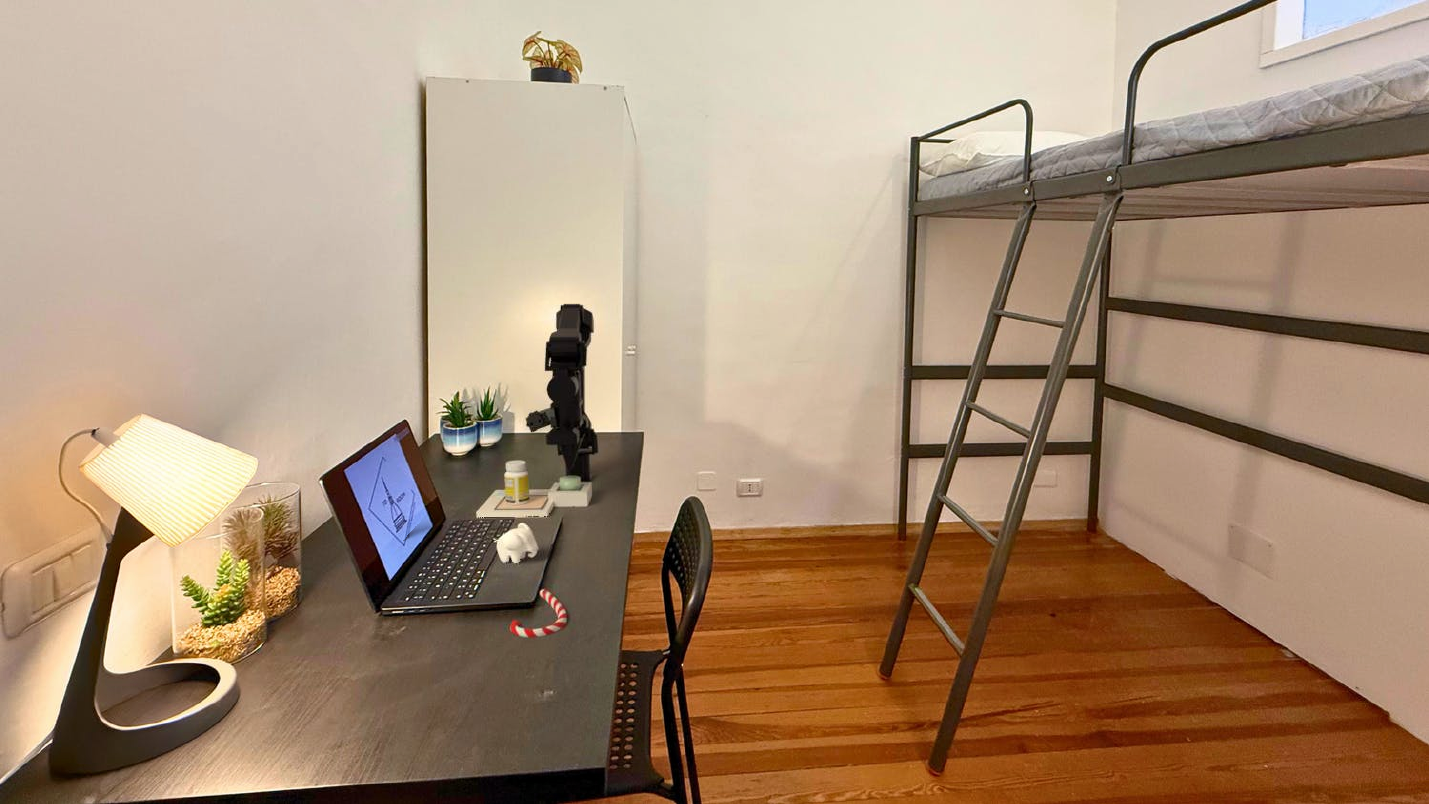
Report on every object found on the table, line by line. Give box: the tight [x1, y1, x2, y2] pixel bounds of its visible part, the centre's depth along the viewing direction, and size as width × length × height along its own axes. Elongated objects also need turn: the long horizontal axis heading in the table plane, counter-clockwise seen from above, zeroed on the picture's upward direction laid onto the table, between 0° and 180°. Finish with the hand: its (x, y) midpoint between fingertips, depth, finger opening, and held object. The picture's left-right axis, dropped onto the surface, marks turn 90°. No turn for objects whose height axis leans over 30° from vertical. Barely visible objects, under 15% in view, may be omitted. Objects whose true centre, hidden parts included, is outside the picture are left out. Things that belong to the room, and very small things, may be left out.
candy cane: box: [509, 588, 568, 638], centre depth 118 cm, size 8×1×15 cm
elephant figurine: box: [492, 522, 540, 564], centre depth 138 cm, size 7×8×6 cm
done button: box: [559, 475, 581, 491], centre depth 173 cm, size 4×4×2 cm
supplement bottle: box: [503, 460, 530, 505], centre depth 167 cm, size 5×5×8 cm
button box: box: [548, 481, 593, 508], centre depth 173 cm, size 8×8×3 cm
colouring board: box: [476, 488, 554, 519], centre depth 170 cm, size 16×14×1 cm
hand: (569, 468), depth 172 cm, fingers closed
